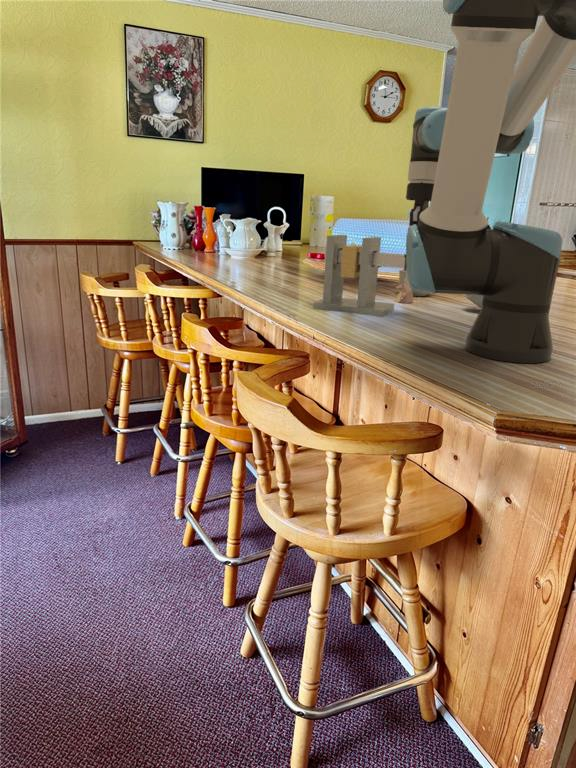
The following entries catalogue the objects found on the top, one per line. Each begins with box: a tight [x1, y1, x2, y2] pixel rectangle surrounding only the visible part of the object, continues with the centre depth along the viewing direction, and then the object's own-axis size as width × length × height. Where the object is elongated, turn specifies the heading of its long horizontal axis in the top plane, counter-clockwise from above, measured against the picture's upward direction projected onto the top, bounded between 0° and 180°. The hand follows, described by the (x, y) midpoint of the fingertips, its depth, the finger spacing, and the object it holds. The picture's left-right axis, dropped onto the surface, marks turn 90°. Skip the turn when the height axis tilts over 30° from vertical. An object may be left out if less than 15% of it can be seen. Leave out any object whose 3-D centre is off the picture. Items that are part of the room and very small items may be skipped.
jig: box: [313, 234, 395, 318], centre depth 137 cm, size 12×18×18 cm, turn 67°
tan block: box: [341, 244, 362, 279], centre depth 136 cm, size 7×4×7 cm, turn 157°
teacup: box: [398, 268, 431, 297], centre depth 167 cm, size 14×11×8 cm
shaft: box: [324, 248, 407, 271], centre depth 134 cm, size 4×24×4 cm, turn 67°
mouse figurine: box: [394, 279, 422, 304], centre depth 152 cm, size 5×8×7 cm, turn 91°
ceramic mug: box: [464, 294, 483, 309], centre depth 143 cm, size 11×8×8 cm
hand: (412, 284), depth 132 cm, fingers closed on shaft, 4 cm apart
